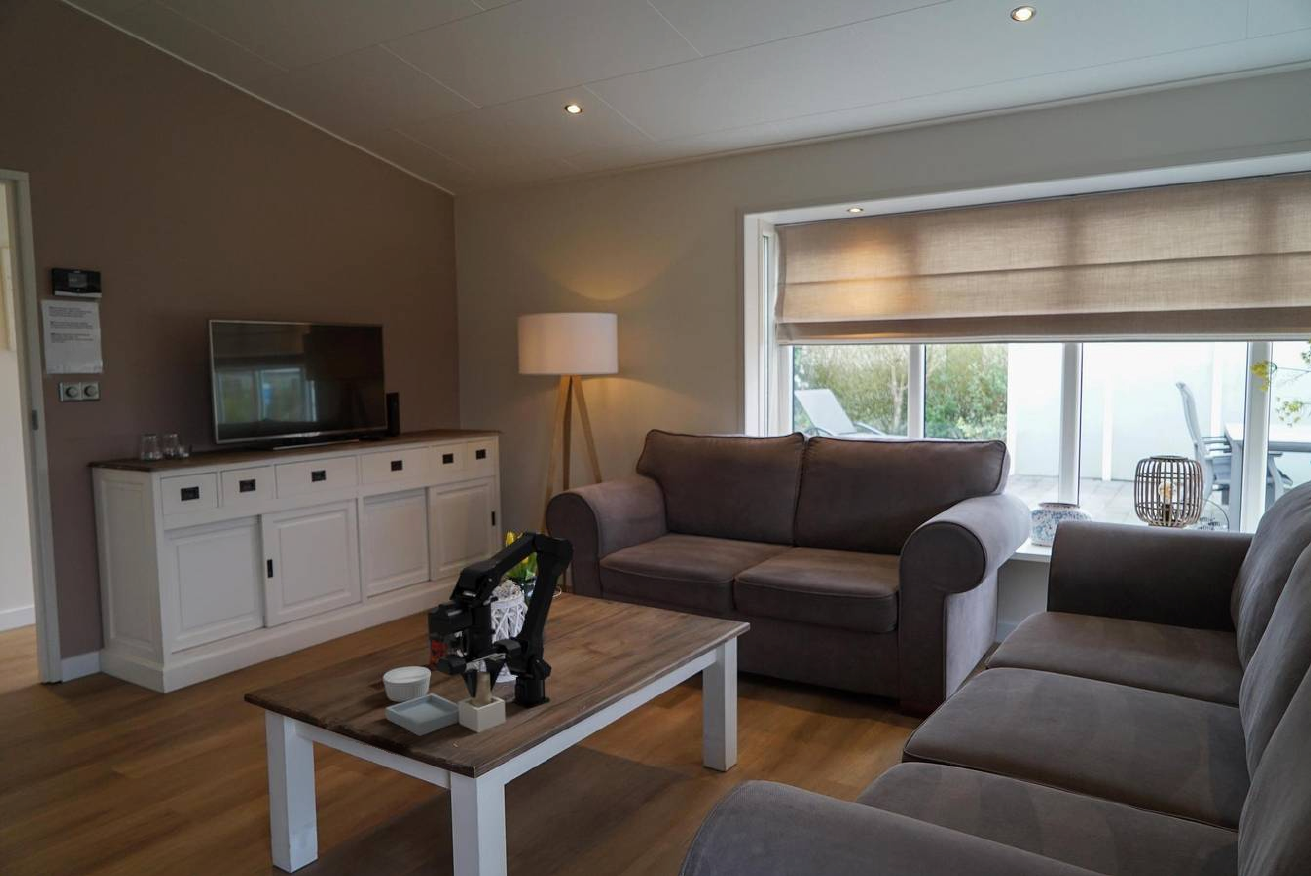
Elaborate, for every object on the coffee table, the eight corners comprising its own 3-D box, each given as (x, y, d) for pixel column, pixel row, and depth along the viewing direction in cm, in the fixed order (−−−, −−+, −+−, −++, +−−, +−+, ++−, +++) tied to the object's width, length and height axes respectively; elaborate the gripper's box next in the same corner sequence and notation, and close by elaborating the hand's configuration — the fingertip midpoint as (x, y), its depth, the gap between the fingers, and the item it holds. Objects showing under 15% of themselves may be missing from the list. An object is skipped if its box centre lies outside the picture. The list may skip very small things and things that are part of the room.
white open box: (486, 714, 202) (485, 692, 202) (505, 722, 197) (504, 700, 197) (459, 723, 197) (458, 701, 197) (478, 732, 192) (477, 710, 192)
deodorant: (425, 666, 236) (423, 610, 235) (445, 660, 240) (443, 605, 239) (437, 671, 232) (435, 614, 231) (457, 665, 236) (455, 609, 235)
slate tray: (432, 703, 210) (432, 693, 209) (467, 719, 200) (466, 708, 200) (386, 718, 201) (385, 708, 201) (419, 735, 191) (418, 724, 191)
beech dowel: (484, 718, 200) (482, 670, 199) (495, 722, 197) (493, 674, 197) (469, 723, 197) (467, 674, 196) (480, 728, 195) (478, 679, 194)
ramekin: (405, 707, 208) (404, 685, 207) (373, 698, 214) (372, 676, 214) (441, 692, 217) (440, 671, 217) (410, 683, 223) (409, 663, 223)
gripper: (492, 609, 208) (494, 674, 209) (421, 627, 195) (424, 697, 196) (521, 618, 200) (523, 686, 201) (449, 637, 187) (452, 710, 188)
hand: (481, 694), depth 197 cm, fingers closed on beech dowel, 4 cm apart
